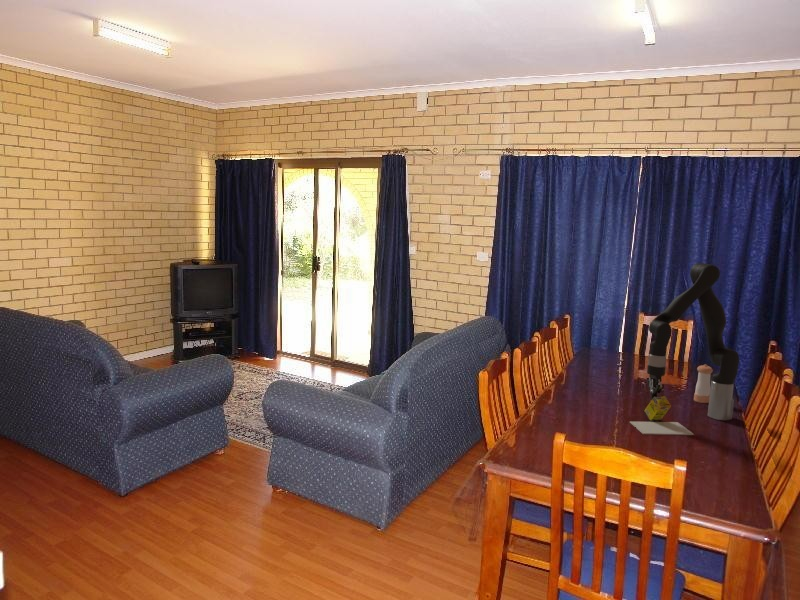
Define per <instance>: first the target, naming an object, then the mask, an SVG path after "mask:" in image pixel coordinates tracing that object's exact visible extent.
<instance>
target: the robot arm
mask: <svg viewBox="0 0 800 600" xmlns="http://www.w3.org/2000/svg"><path fill="white" fill-rule="evenodd" d="M689 272H690V273H689V275H690V280H691V283H692V286H689V288H688V289H686V290H685V291H684V292H682V293H680V294H679V295H678V296H676V297H675V298H673V300H672V301H671V302H670V303H669V305H667V307H665V309H664V311H662V312H661V313H659V314H658V315H657V316H656V317H654V318H653V319H652V320H651V322H650V323H649V326H648V331H649V333H650V334H652V335H653V336H655V338H654V340H653V341H651V342H650V345H649V352H648V359H647V369H646V374H648V375H649V377H646V383H647V388H648V390H649V392H650V402H651V401H652V399H653V398H654V397H658V394H661V392H662V390H664V387H665V385H664V384H662V381H663V380H662V377H664V376H665V375H666V366H667V349H668V348H667V347H668V345H669V343H670V339H671V337H672V332H673V331H672V325H670V324H671V323H674V322H678V321H679V320H680V318H681V317H683V315H685V314H684V313H686V311H687V310H688V309H689V308H690V307H691V306H692V305H693V303H695V302H696V301H698V305H699V309H700V312H701V313H700V314H701V318H702V322H703V325H704V329H705V335H706V339H707V345H708V346H707V347H708V354H709V359H710V362H712V364H714V366H717V367H719V368H720V369H719V372H717V373H713V374H712V375H711V378H710V397H709V403H708V407H707V408H708V409H707V417H709V418H711V419H714V420H716V421H717V420H718V421H730V420H733V412H734V402H735V399H733V394H734V384H735V380H736V378H737V376H738V370H739V365H740V355H739V353H738V351H736V350H734V349H731V348H729V347H728V348H727V347H726V346H725V344H724V339H723V333H724V331H725V328H726V325H727V318H726V314H725V313H726V312H725V310H724V308H723V304H722V303H721V302H720V300H719V299H718V297H717V296H716V294H715V293H714V291H713V289H712V286H714V285H715V284H716V283H717V281H718V280H719V279H720V277H721V276H720V275H721V271H720V269H719V267H718V266H716V265H714V264H709V263H705V262H697V263H694V264H693V265H692V266H691V268H690V271H689Z"/></svg>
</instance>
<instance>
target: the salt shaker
mask: <svg viewBox="0 0 800 600" xmlns="http://www.w3.org/2000/svg"><path fill="white" fill-rule="evenodd" d="M696 370H697V372H698V375H697V380H696V381H697V382H696V385H695V392H694V394H693V401H694V402H697V403H701V404H709V397H710V388H711V376H712V375H711V374H712V373H713V371H714V370H713V368H712V367H711V366H709V365H707V364H706V363H705V364H703V365H702V364H701V365H699V366H698V367H697V368H696Z"/></svg>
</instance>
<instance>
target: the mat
mask: <svg viewBox="0 0 800 600" xmlns="http://www.w3.org/2000/svg"><path fill="white" fill-rule="evenodd" d="M629 423H630V425H632V426H633V427H634V428H635V427H636V428H635V429H636V430H638V431H639V432H640V433H641V434H642V435H661V436H662V435H663V436H664V435H665V436H667V435H668V436H670V435H671V436H673V435H674V436H695V434H694V433H693V432H692V431H691V430H689V429H687V427H685V426H684V425H682V424H681V423H680V422H677V421H629Z"/></svg>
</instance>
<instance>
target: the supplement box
mask: <svg viewBox="0 0 800 600" xmlns="http://www.w3.org/2000/svg"><path fill="white" fill-rule="evenodd" d="M671 407H672V405H671V403H670V402H669V400H668V398H667V397H666V396H665V395H664V396H663V395H662V396H657V397H654V398H653V399H652V401H651V400H650V401H649V403H648V405H647V406H646V407H645V409H644V410H643V413H644V414H645V416H646V418H647V419H648V422H661V420H662V419H663V418H664V416H665V415H666V414H667V413H668V411H669V410H670V409H671Z"/></svg>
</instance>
